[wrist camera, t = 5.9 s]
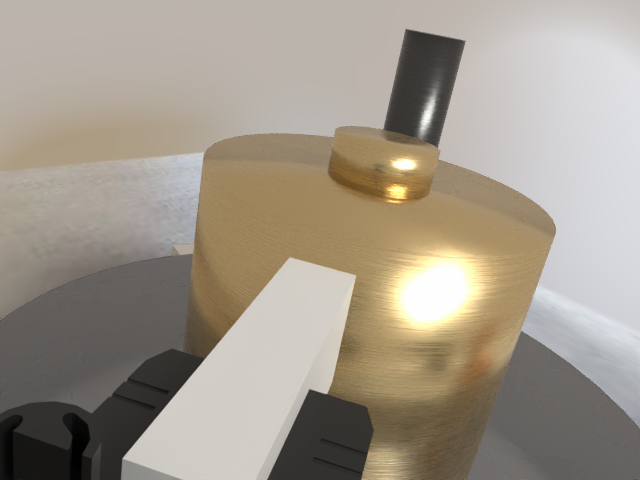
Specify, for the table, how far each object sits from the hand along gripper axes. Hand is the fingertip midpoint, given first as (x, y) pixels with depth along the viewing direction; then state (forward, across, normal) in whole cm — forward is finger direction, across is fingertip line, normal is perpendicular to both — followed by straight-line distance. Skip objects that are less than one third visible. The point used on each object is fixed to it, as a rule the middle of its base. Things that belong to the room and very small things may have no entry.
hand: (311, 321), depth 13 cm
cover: (+5, 0, -6) cm, 8 cm away
